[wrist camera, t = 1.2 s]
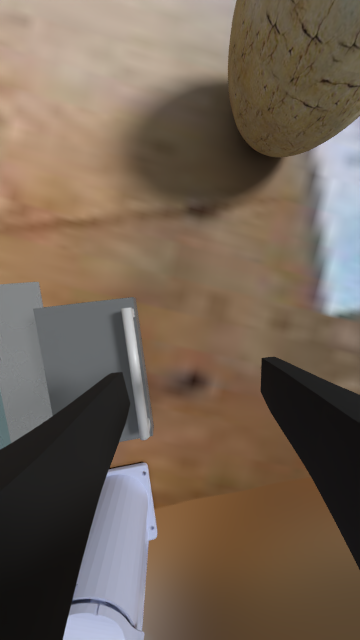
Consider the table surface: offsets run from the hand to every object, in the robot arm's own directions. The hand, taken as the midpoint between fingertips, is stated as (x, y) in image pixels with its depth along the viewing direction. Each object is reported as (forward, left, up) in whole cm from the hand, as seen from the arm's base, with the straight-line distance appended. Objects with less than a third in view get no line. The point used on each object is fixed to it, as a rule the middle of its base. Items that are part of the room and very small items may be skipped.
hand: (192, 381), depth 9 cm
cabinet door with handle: (-2, +8, -11) cm, 14 cm away
